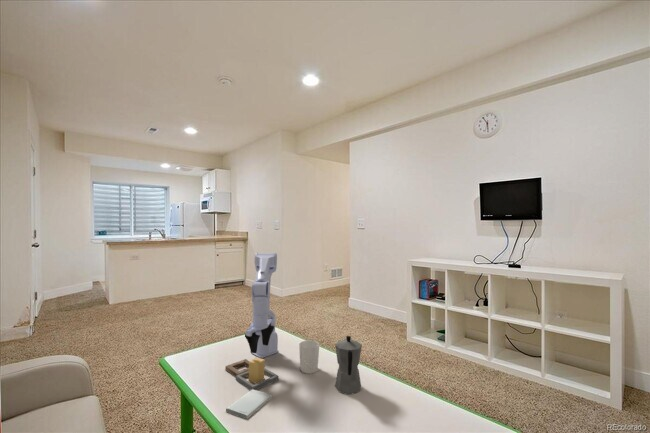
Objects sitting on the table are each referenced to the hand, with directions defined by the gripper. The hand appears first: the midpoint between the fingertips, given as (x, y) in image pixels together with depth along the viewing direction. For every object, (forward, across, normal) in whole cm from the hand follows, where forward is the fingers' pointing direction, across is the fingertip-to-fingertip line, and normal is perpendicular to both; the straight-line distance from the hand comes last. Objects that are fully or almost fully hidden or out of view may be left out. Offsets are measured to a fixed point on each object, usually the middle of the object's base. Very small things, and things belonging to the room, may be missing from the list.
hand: (259, 348), depth 120 cm
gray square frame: (+9, +5, +2) cm, 11 cm away
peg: (+9, +5, +2) cm, 11 cm away
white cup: (+10, -10, +16) cm, 21 cm away
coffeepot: (+9, -4, +35) cm, 36 cm away
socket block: (+9, +1, -7) cm, 12 cm away
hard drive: (+10, +18, +10) cm, 23 cm away
